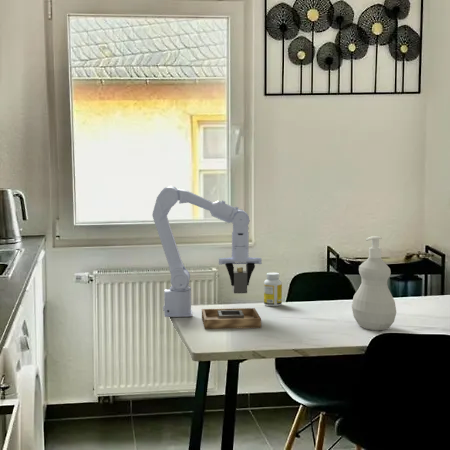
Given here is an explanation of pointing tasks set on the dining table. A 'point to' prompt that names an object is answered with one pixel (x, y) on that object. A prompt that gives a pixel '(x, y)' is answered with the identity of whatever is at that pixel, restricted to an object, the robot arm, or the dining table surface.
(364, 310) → the soap bottle
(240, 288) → the connector plug
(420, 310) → the dining table surface
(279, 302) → the pill bottle
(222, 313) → the collar
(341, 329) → the dining table surface
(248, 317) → the walled box
